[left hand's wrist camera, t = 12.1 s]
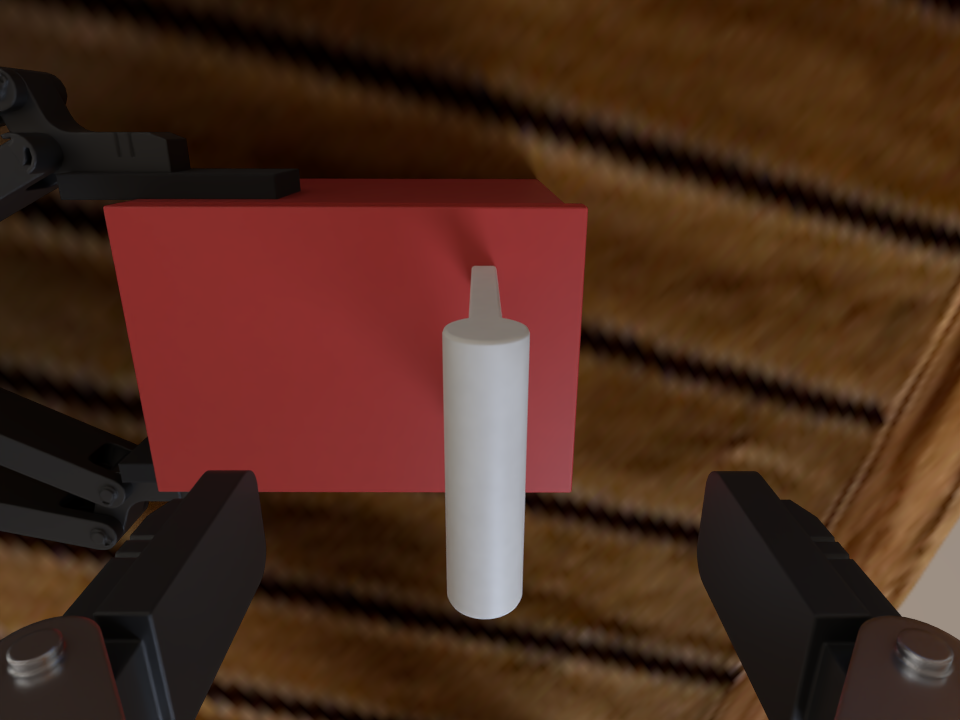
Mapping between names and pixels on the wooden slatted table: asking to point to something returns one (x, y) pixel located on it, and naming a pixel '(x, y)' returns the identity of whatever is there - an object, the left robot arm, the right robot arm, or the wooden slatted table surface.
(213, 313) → the lid
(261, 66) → the wooden slatted table surface
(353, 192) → the chest
